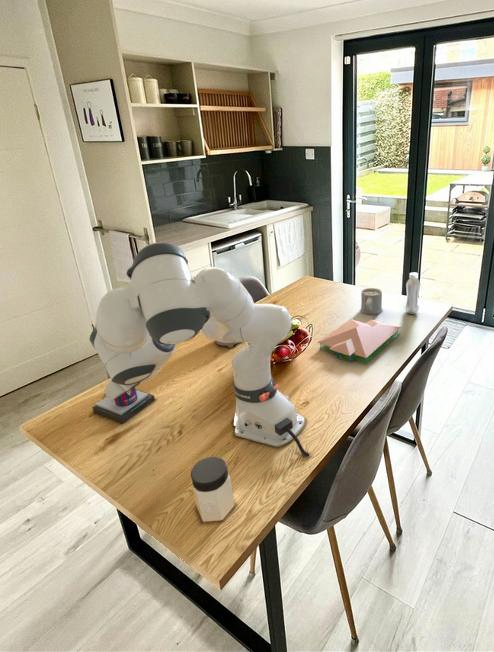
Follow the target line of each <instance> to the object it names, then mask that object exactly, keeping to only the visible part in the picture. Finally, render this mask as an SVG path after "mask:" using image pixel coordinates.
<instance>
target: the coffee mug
mask: <svg viewBox="0 0 494 652" xmlns="http://www.w3.org/2000/svg"><path fill="white" fill-rule="evenodd" d="M360 295H361V296H360V297H361V298H360V299H361V300H360V301H361V302H360V303H361V305H360V306H361V307H360V310H361V312H362V313H363V314H366V315H377V314H380V313H381V312H382V304H383V303H382V301H383V291H382V290H381V289H380V288H376V287H367V288H364V289H362V290H361V294H360Z"/></svg>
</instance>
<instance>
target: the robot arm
mask: <svg viewBox="0 0 494 652" xmlns="http://www.w3.org/2000/svg"><path fill="white" fill-rule="evenodd" d="M228 271H229V270H226V269H224V268H223V267H219V266H209V267H206V268H204V269H202V270H199V272H198V273H197V274H196V275H195V276H192V272H191V270H190V268H189V261H188V259H187V257H186V255H185V253H184V252H183V250H182V249H181V247H179V246H178V245H177V244H174V243H171V242H166V241H158V242H153V243H149V244H148V245H145V246H143V248H141V249H140V251H139V252H138V253H137V254H136V255H135V257H134V259H133V262H132V265H131V266H130V267H128V269H127V270H126V276H127V277H128V278H129V279H130V281H129V283H128V284H127V285H126V286H121V287H116V288H113V289H111V290H109V291H108V292H106V293H105V294H104V295H103V296H102V298H101V299H100V301H99V304H98V306H97V309H96V314H95V327H94V329H93V330H92V331H91V333H90V335H89V342H90V344H91V345H92V347H93V348H94V350H95V351H96V353H97V355H98V357H99V359H100V361H101V363H102V365H103V367H104V369H105V371H106V373H107V375H108V377H109V378H110V380H109V382H108V384H107V385H106V387H105V388H104V390H103V393H104V395H105V397H108V398H109V399H110V400H114V399H115V398H117V397H118V396H120V395H122V394H123V393H125V392H126V391H128V390H130V389H132V388H134V387H135V388H136V387H138V386H140V385H143V384H145V383H148V382H151V381H153V380H154V379H155V378H156V377H157V376H158V374H160V372H161V371H162V369H163V368H164V367H165V366H166V365H167V364H168V362H169V361H170V360H171V359H172V357H173V355H174V353H175V350H176V345H178V344H182V343H186V342H188V341H190V340H192V339H194V338H195V337H196V336H197V335H198V334H199V333H200V332H202V334H203V336H204V337H205V338H206V339H209V340H212V341H215V340H216V341H222V342H239V343H247V344H248V346H246V347H245V346H244V347H243V348H241V349H240V350H239V351H237V352H236V353H235V354H234V356H233V357H232V359H231V369H232V375H233V382H232V389H233V394H234V397H235V413H234V420H233V426H235V428H234V435H235V436H236V437H239V438H243V439H245V440H250V441H253V442H258V443H261V444H264V445H268V446H271V447H276V448H279V447H282V446H284V445H287V444H288V443H290V442H291V441H292V440H294V441H295V444H296V445H297V448H298V449H299V451H300V453H301V454H302V455H303V456H305V457H306V458H308V457H309V456H310V453H309V452H307V451H306V450H305V449H304V448H303V445H302V444H301V442H300V440H299V438H298V437H297V436H298V435H299V434H300V433H301V431H302V430H303V428H304V426H305V423H306V420H305V416H302V415H301V414H299V412H297V410H296V407H295V405H294V404H293V403H292V402H291V399H290V397H289V396H288V395H284V394H283V393H282V392H281V391H280V390H279V389H278V388H279V387H280V385H279V384H280V383H279V382H278V383H277V384H276V382H275V380H274V378H273V376H272V372H271V371H272V370H271V358H272V353H273V352H274V349H275V348H276V347H277V345H279V343H281V342H283V341H284V340H285V339H287V337H288V335H289V334H290V333H291V329H292V326H293V325H292V324H293V323H292V316H291V313H290V312H289V310H288V309H287V308H286V307H285V306H283V305H278V304H273V303H270V302H269V303H265V302H264V303H262V302H261V303H258V302H256V303H255V302H254V300H253V297H252V296H251V294H250V293H249V291H248V290H247V289H246V287H245V286H244V285H243V283H242V282H241V281H240V280H239V279H238V278H237V277H236V276H234V275H235V274H234V275H232V274H231V273H229V272H228Z"/></svg>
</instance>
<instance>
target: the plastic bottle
mask: <svg viewBox="0 0 494 652" xmlns="http://www.w3.org/2000/svg"><path fill="white" fill-rule="evenodd" d="M418 278H419V273H418V272H410V273H409V279H408V280H407V281H406V283H405V287H406V300H405V304H404V311H405V312H406V314H410V315H411V314H412V315H413V314H417V313H418V312H419V309H420V306H419V294H420V290H421V289H420V288H421V282H420V280H419V279H418Z"/></svg>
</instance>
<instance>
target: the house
mask: <svg viewBox="0 0 494 652" xmlns="http://www.w3.org/2000/svg"><path fill="white" fill-rule="evenodd" d="M400 329H401V326H398V325H393V324H390V323H386V322H382V321H378V320H374V319H370V320H368V321H367V322H362V321H359V320H354V319H351V318H350V319H349V320H347V321H346V322H344V323H343V324H341V325H340V326H339V327H336V329H334V330H333V331H331V332H330V333H329V334H327V335H326V336H324V337H323V338H322V339H319V341H317V344H320V350H323V351H326V352H330V353H331V354H335V355H337V356H339V358H340V359H341V360H345V361H347V362H352V361H356V362H359V363H361V364H365V365H366V364H367V363H368V362H369V361H370V360H371V359H373V358H374V356H377V354H378V353H379V352H380V351H382V349H383V346H384V347H385V346H387V345H388V344H389V343H390V342H391V341H393V337H394V338H396V337H397V336H398V335H399V333H398V332H399V330H400ZM327 349H329V350H327ZM344 356H346V358H349V359H346V358H344ZM352 356H354V358H352ZM363 359H364V361H361V360H363Z"/></svg>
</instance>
